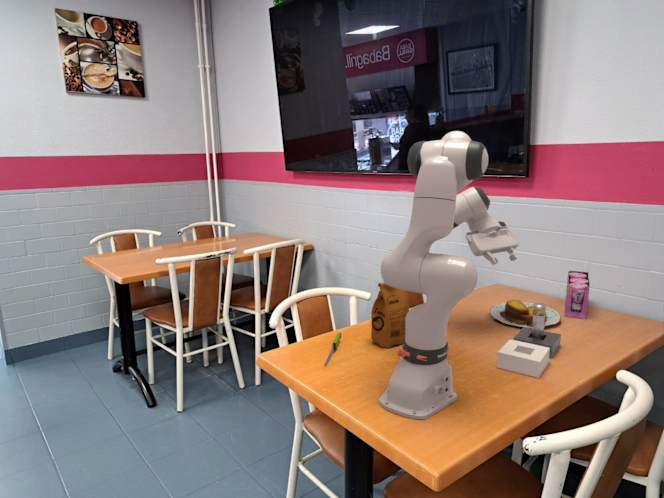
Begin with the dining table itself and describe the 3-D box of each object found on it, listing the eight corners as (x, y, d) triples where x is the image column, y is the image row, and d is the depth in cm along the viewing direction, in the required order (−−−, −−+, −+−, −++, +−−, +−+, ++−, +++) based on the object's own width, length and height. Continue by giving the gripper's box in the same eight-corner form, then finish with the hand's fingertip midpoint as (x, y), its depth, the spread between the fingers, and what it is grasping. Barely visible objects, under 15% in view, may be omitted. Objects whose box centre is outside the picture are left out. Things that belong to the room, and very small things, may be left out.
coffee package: (367, 341, 164) (366, 280, 160) (393, 332, 171) (394, 274, 167) (385, 350, 156) (385, 287, 152) (412, 341, 163) (413, 280, 159)
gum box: (586, 321, 179) (590, 286, 176) (564, 318, 183) (566, 284, 180) (586, 302, 200) (589, 272, 197) (565, 300, 204) (568, 270, 201)
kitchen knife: (326, 373, 144) (326, 364, 143) (322, 372, 144) (322, 364, 143) (341, 339, 165) (341, 331, 164) (338, 339, 165) (338, 331, 164)
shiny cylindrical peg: (541, 350, 154) (544, 307, 151) (529, 348, 156) (532, 305, 153) (543, 346, 157) (547, 304, 154) (532, 344, 159) (535, 302, 156)
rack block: (538, 378, 136) (539, 362, 135) (497, 367, 143) (497, 352, 142) (548, 362, 145) (549, 347, 144) (509, 353, 152) (509, 339, 151)
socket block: (551, 358, 148) (552, 346, 147) (512, 349, 155) (513, 338, 154) (560, 345, 157) (561, 334, 157) (522, 337, 165) (523, 326, 164)
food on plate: (574, 323, 177) (576, 307, 176) (527, 336, 166) (529, 319, 165) (520, 304, 200) (521, 290, 198) (476, 314, 189) (477, 299, 187)
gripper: (468, 227, 161) (488, 260, 155) (509, 222, 171) (530, 252, 165) (458, 238, 166) (478, 270, 160) (499, 232, 176) (519, 262, 170)
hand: (505, 261), depth 162 cm, fingers open, 8 cm apart
